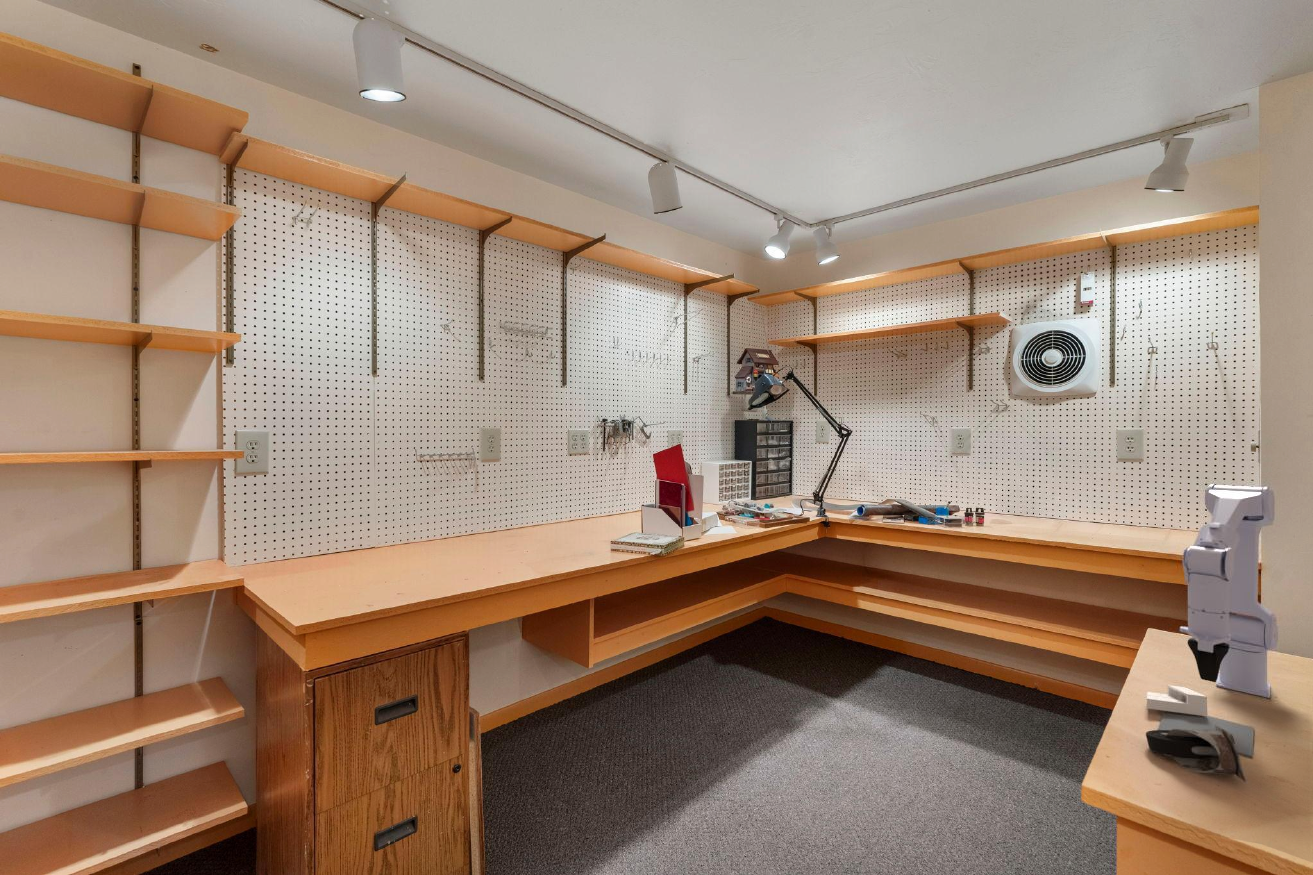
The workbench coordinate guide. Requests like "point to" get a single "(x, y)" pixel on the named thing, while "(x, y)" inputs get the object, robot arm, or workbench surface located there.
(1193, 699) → the white angled block
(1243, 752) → the rubber mat
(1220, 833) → the workbench surface
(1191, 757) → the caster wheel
